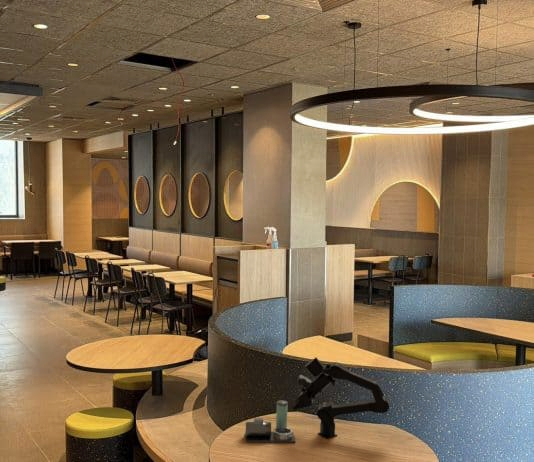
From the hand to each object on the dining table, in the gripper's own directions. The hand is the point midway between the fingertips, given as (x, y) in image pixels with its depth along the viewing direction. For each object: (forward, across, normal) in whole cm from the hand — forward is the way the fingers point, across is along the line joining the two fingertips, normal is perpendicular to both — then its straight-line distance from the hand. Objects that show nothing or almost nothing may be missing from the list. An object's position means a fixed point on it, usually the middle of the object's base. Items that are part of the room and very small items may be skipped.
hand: (294, 405), depth 270 cm
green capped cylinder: (+13, 0, +4) cm, 13 cm away
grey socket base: (+15, +10, +2) cm, 18 cm away
